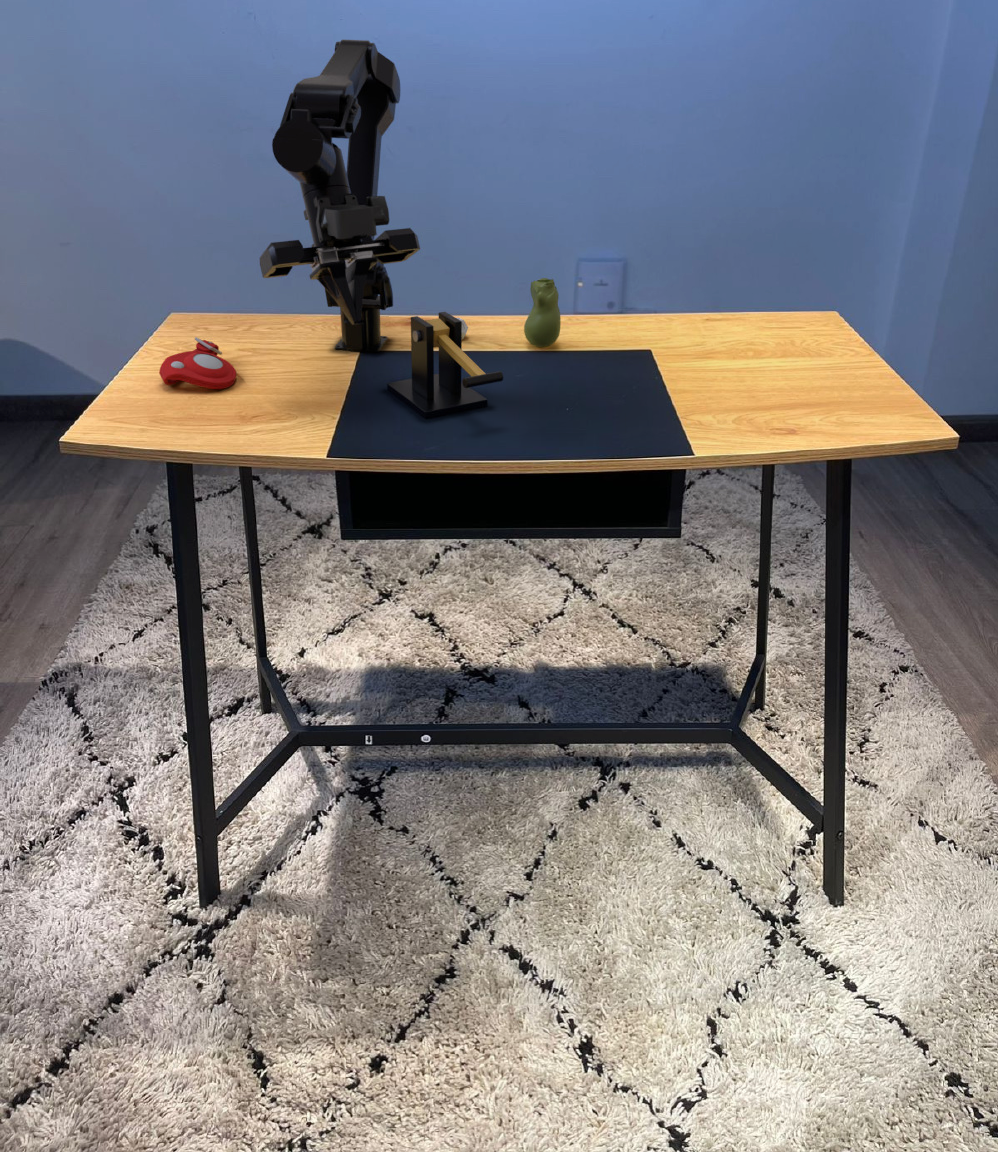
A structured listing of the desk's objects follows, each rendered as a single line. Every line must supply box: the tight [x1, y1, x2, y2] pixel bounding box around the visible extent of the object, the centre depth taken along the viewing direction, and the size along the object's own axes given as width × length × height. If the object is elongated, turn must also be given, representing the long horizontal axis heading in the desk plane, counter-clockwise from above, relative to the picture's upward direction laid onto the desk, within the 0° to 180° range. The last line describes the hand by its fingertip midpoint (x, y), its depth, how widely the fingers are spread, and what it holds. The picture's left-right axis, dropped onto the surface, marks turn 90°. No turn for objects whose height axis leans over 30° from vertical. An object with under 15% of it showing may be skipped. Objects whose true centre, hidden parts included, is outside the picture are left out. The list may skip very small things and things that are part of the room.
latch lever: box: [424, 317, 504, 388], centre depth 126 cm, size 14×5×2 cm, turn 31°
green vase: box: [523, 277, 562, 348], centre depth 150 cm, size 6×5×10 cm
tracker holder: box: [158, 336, 237, 390], centre depth 137 cm, size 12×4×10 cm
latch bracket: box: [386, 311, 488, 420], centre depth 131 cm, size 11×9×11 cm
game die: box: [456, 317, 469, 341], centre depth 153 cm, size 4×4×3 cm
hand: (356, 323), depth 124 cm, fingers closed
